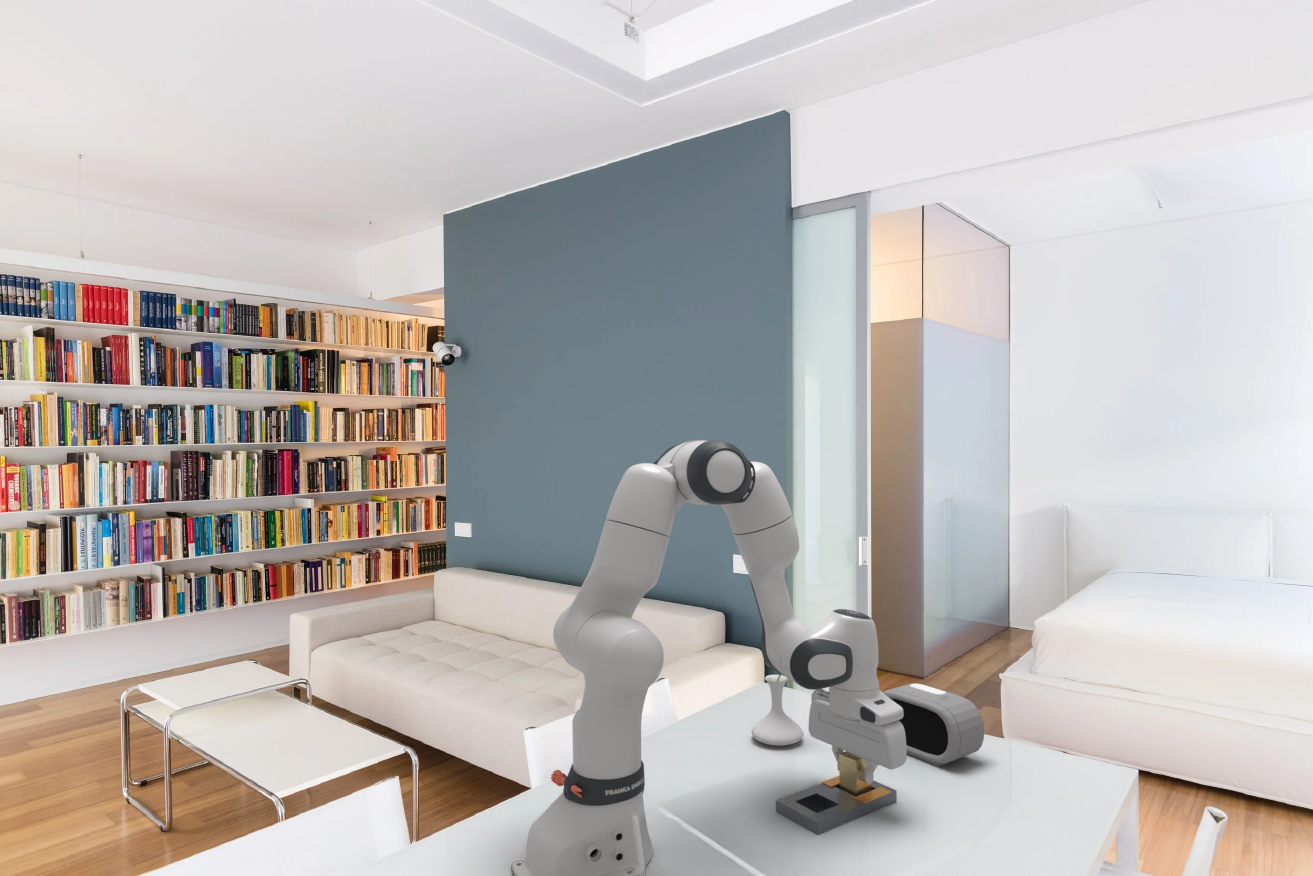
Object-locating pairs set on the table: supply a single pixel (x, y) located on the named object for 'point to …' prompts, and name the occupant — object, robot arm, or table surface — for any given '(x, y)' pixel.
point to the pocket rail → (832, 805)
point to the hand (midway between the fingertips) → (855, 776)
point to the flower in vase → (777, 718)
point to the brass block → (852, 774)
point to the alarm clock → (938, 723)
